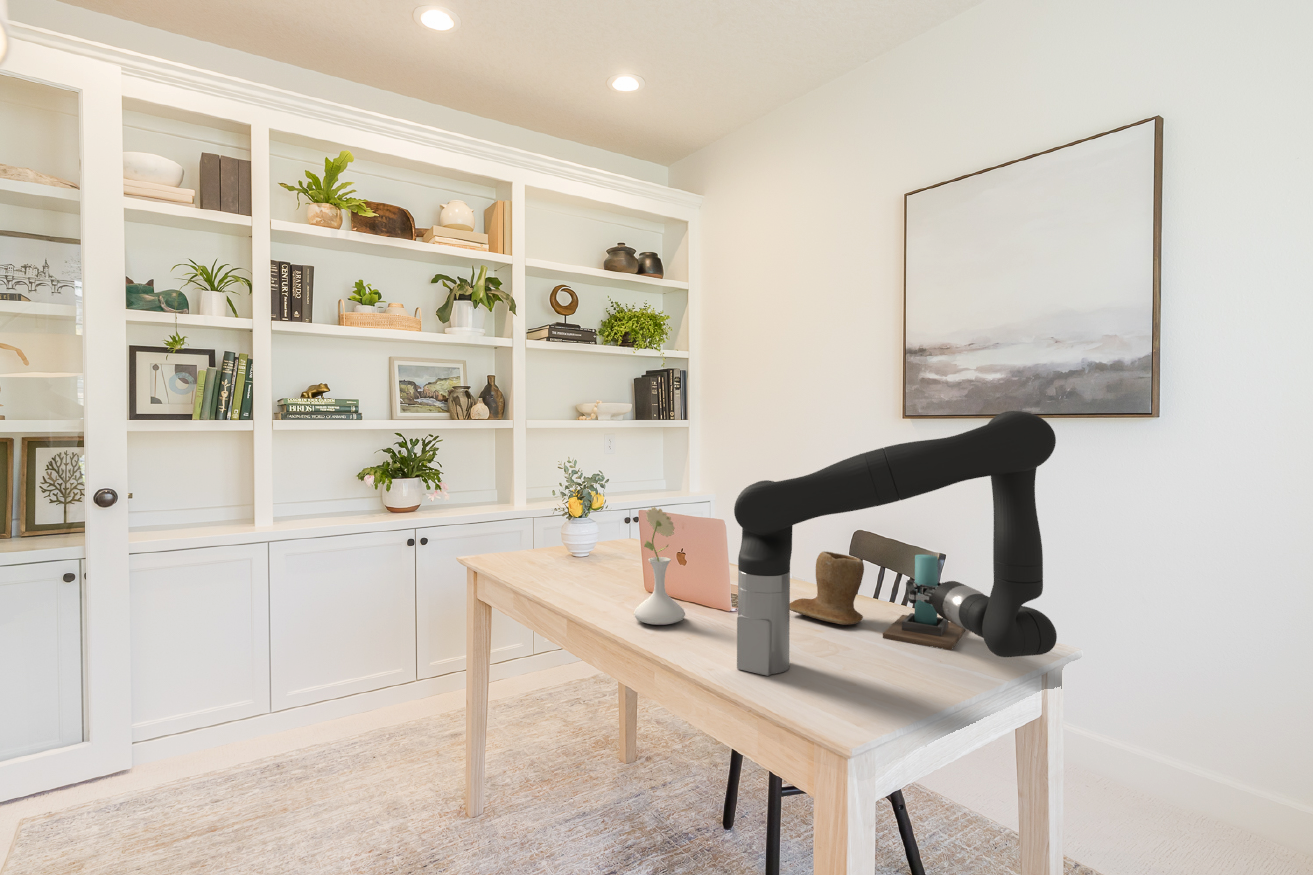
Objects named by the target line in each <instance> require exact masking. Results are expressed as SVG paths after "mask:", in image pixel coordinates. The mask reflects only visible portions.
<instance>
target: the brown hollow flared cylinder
mask: <svg viewBox="0 0 1313 875" xmlns="http://www.w3.org/2000/svg"><path fill="white" fill-rule="evenodd" d="M864 572H865V564H864V562H863V561H862V560H861V559H860V558H858V557H855V556H852V555H847V554H843V553H842V554H841V553H839V552H838V553H837V552H836V553H835V552H832V551H821V552H820V553H819V555H818V556H817V558H816V562H815V581H816V582H815V583H816V587H817V588H816V589H817V593H816V594H817V596H816V597H814V598H803V597H802V598H798V599H795V600H793V601H791V602H790V612H793V613H797V614H800V615H803V616H805V617H809V618H813V619H816V620H819V621H823V622H827V623H833V624H837V625H855V624H858V623H860V622H862V620H863V619H864V618H863V617H864V616H863V614H861V613H860V612H858V611H857V610H856V609H855V605H854V604H855V600H856V596H857V594H858V592H859V590H860V587H861V585H862V580H863V576H864Z"/></svg>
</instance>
